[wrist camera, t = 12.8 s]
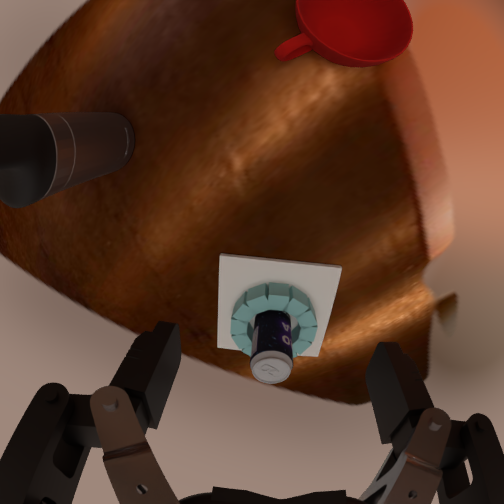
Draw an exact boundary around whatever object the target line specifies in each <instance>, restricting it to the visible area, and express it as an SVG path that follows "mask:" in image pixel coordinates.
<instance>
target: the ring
mask: <svg viewBox="0 0 504 504" xmlns="http://www.w3.org/2000/svg"><path fill="white" fill-rule="evenodd" d="M267 310H280V311H285V312H287V313H289V314H290V315H292V316H294V317H295V318H296V319H297V321H298V324H297V326H296V327H295V328H294V329H293V330H292V331H291V333H292V350H293V358H294V357H297V353H298V354H299V355H301V354H302V353H303V352H304V351H305V350H306V349H307V348H309V347H310V346H311V345H312V342H314V339H315V335H316V332H317V328H318V327H317V320H316V314H315V310H314V308H313V306H312V303H311V301H310V299H309V297H308V298H307V295H306V294H305V293H303V292H302V291H300V290H299V289H297V288H296V287H294V286H293V285H292V286H291V287H290V288H289V284H283V283H273V282H269V288H268V286H267V284H266V283H263V284H261V285H258V286H255V287H252V288H250V289H248V292H246V291H245V292H244V293H243V294H242V296H241V297H240V298H239V299H238V300H237V302H236V303H235V306H234V308H233V313H232V317H231V329H230V334H232V335H231V338H232V339H233V341H234V342H235V344H236V345H237V347H238V348H239V349H242V352H244V353H246V354H247V355H249V356H251V349H252V340H253V331H254V329H253V327H252V326H251V324H250V322H249V321H250V320H251V319H252V318H253V317H254V316H255V315H256V314H258V313H261V312H264V311H267Z"/></svg>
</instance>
